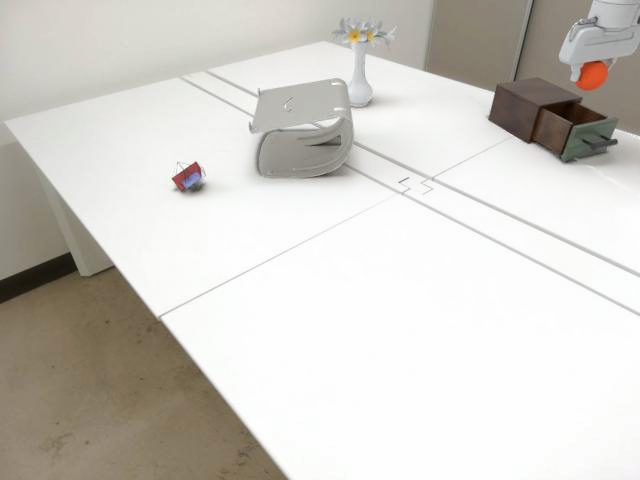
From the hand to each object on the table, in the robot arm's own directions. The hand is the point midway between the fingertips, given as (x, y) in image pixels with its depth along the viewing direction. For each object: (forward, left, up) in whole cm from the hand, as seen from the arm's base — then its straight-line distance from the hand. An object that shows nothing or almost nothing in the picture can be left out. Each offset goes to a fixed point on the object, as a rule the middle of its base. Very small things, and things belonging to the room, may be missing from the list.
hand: (588, 78), depth 108 cm
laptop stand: (+64, -23, -19) cm, 71 cm away
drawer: (-1, +1, -18) cm, 18 cm away
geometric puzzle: (+94, -17, -19) cm, 97 cm away
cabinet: (-1, -14, -19) cm, 23 cm away
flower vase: (+36, -48, -19) cm, 63 cm away
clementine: (0, 0, -3) cm, 3 cm away
